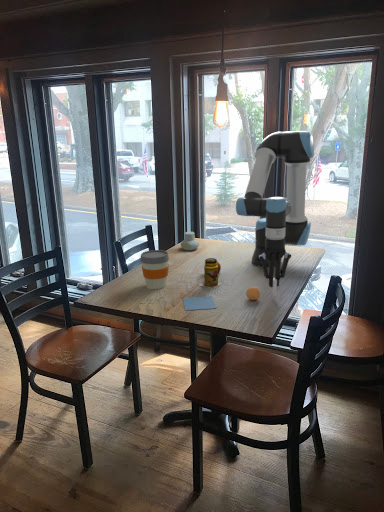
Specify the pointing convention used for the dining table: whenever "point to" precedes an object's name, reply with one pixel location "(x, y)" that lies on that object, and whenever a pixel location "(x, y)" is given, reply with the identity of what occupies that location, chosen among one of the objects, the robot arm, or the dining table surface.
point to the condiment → (210, 273)
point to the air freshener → (189, 241)
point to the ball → (253, 293)
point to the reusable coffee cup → (155, 268)
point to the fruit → (218, 267)
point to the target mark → (199, 303)
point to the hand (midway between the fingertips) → (273, 293)
